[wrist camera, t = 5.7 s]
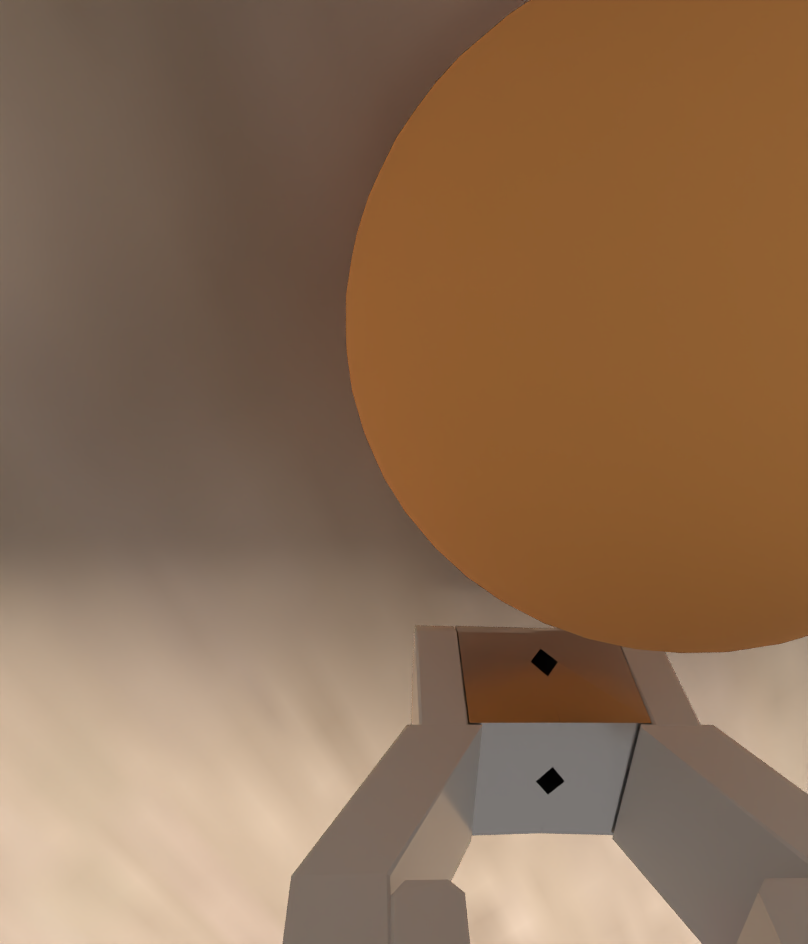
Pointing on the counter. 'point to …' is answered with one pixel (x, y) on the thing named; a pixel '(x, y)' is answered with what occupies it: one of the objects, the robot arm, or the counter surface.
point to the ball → (602, 319)
